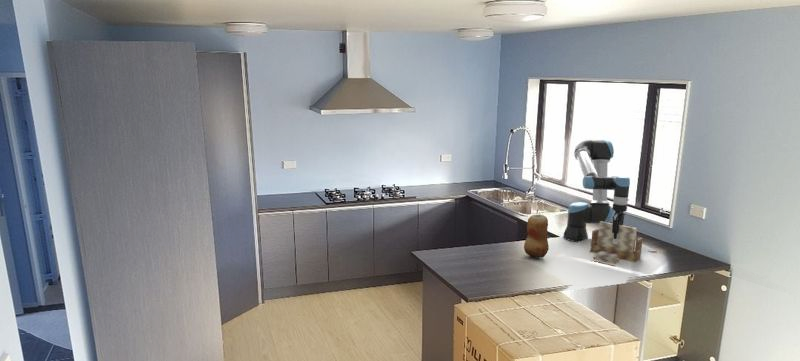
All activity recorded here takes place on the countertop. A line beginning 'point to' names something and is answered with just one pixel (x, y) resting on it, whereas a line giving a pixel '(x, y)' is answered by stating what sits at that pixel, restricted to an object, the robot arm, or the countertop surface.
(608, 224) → the patterned board
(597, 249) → the oak rack
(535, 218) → the butternut squash
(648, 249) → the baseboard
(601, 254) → the grey mdf offcut
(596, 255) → the grey textured block
